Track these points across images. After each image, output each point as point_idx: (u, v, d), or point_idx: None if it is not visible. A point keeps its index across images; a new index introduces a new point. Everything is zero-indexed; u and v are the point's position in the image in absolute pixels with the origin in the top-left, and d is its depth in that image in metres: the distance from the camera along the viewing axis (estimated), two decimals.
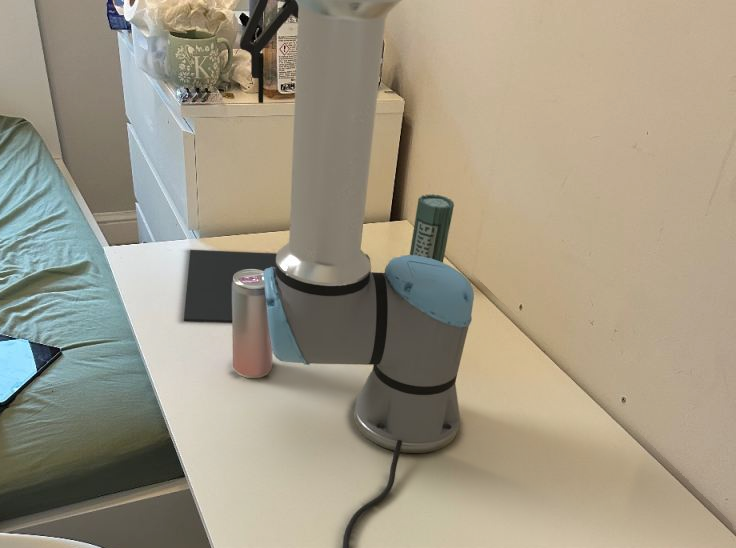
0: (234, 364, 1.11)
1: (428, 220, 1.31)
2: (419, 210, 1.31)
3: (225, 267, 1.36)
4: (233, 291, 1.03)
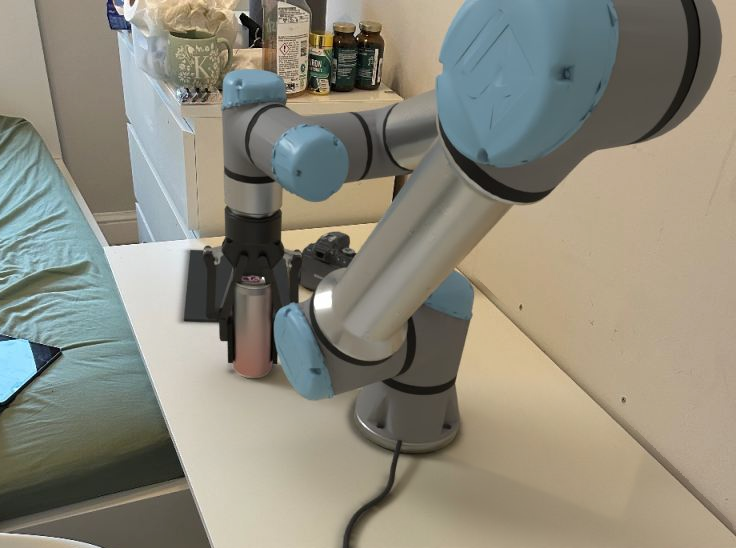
0: (234, 364, 1.11)
1: None
2: None
3: (225, 267, 1.36)
4: None
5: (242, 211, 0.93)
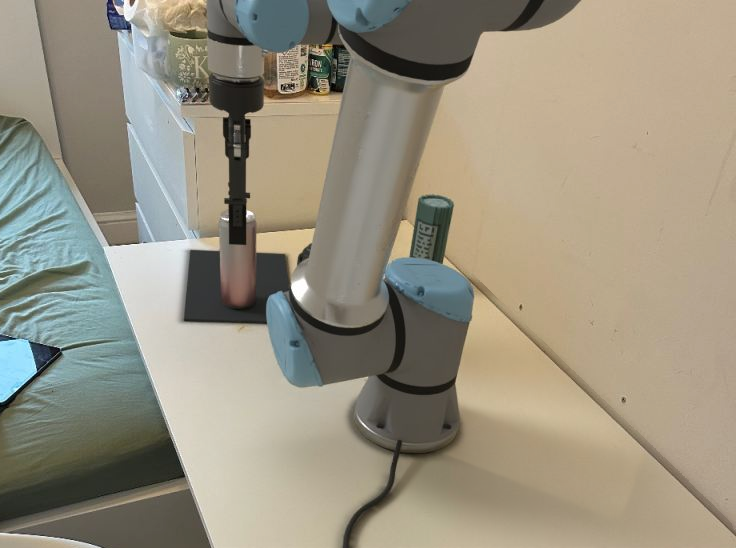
0: (222, 296, 1.25)
1: (428, 220, 1.31)
2: (419, 210, 1.31)
3: None
4: (220, 226, 1.17)
5: None
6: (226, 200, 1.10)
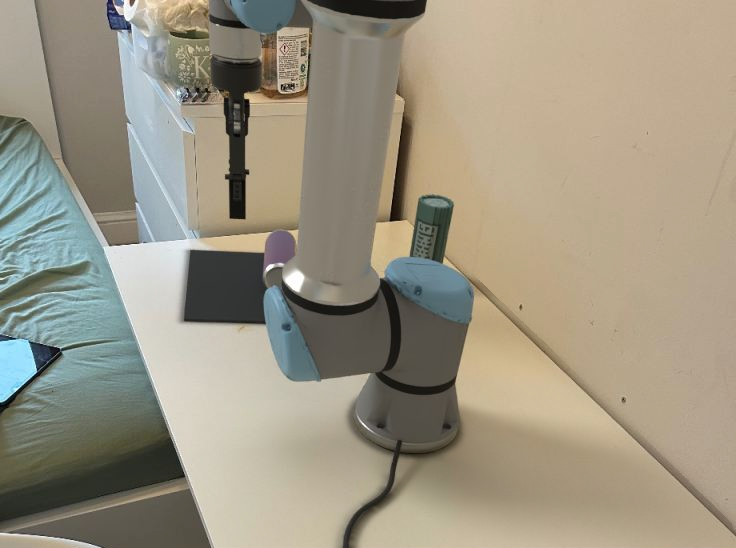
0: None
1: (428, 220, 1.31)
2: (419, 210, 1.31)
3: (225, 267, 1.36)
4: (296, 243, 1.38)
5: None
6: (227, 176, 1.17)
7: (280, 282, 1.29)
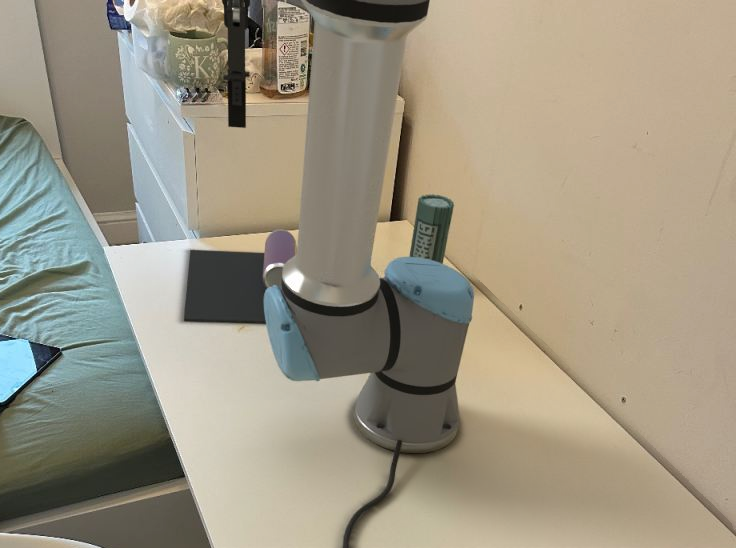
0: None
1: (428, 220, 1.31)
2: (419, 210, 1.31)
3: (225, 267, 1.36)
4: (296, 243, 1.38)
5: None
6: (225, 76, 1.09)
7: (280, 282, 1.29)
